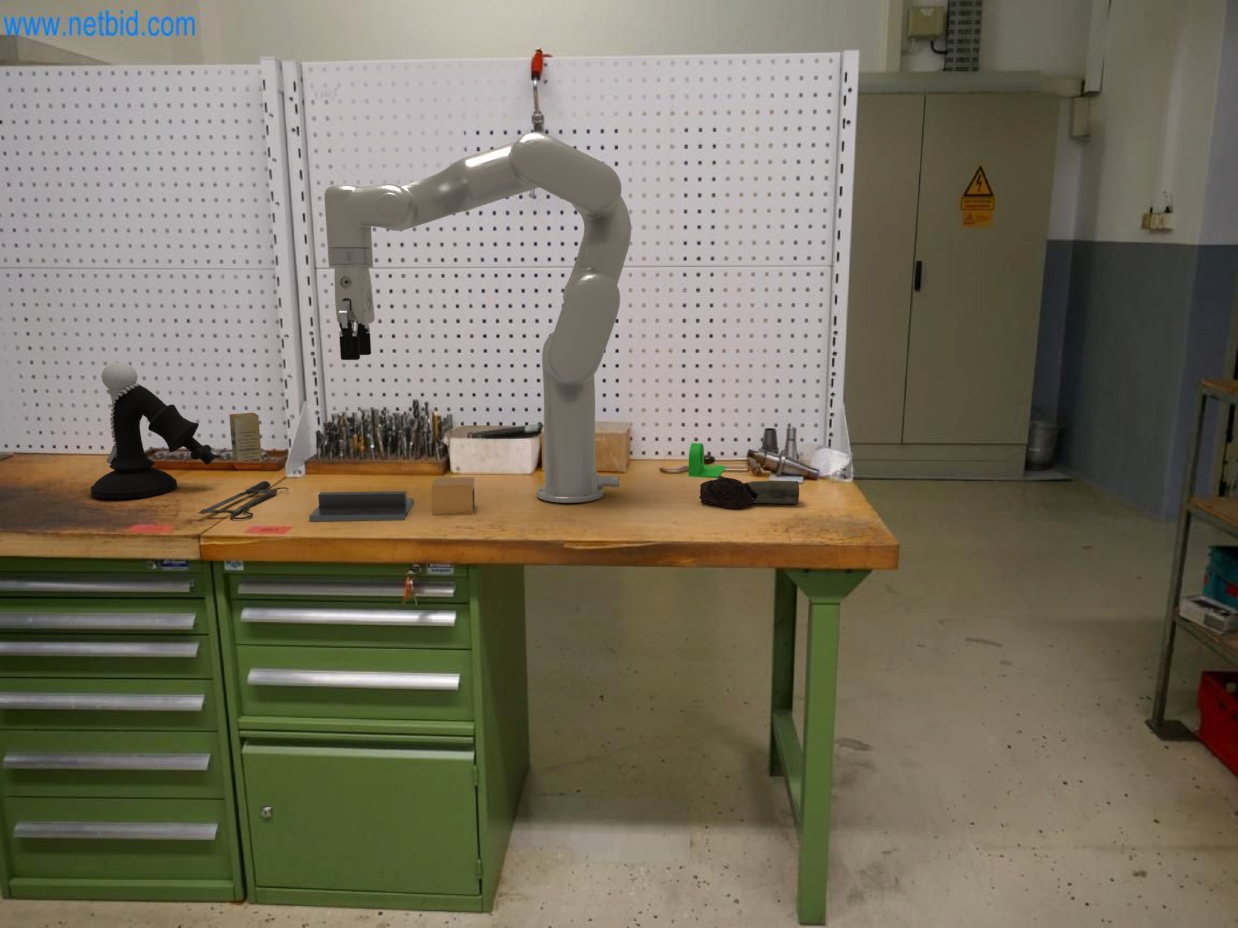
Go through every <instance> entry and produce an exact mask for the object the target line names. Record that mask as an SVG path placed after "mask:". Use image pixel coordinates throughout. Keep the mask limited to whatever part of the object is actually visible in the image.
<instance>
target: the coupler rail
mask: <svg viewBox="0 0 1238 928" xmlns="http://www.w3.org/2000/svg"><path fill="white" fill-rule="evenodd" d="M317 496H318V506H317V507H316V509H314V511H312V512H311V513H310V514H309V516H308V517H309V518H308V519H309V522H352V521H354V522H355V521H356V522H358V521H359V522H361V521H362V522H363V521H364V522H365V521H369V522H370V521H404V520H405V519H406V518H407V516H408V514H409V513H410V511H411V509H412V507H413V506H414V504H415V503H414V502H415V501H414V500H415V499H414V498H412V497H410V498H409V497H407V491H406V490H405V491H402V490H401V491H400V490H399V491H398V490H397V491H396V490H395V491H392V490H391V491H387V490H385V491H384V490H383V491H324V492H323V491H321V492H320V493H319V494H318V495H317Z"/></svg>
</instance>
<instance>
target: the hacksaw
mask: <svg viewBox="0 0 1238 928" xmlns="http://www.w3.org/2000/svg"><path fill="white" fill-rule="evenodd" d="M282 489H283V490H282ZM285 489H286V490H285ZM278 490H280V491H279V492H281V493H282V492H284V490H285V492H286V491H289V488H288V487H281V486H280V487H276V488H275V487H274V488H271V483H270V482H269V481H268V480H267V481H266V480H263V481H260V482H259V483H257V484H256V485H253V486H251V487H249V488H247V489H245V490H244V492H239V493H237V494H235V495H233V496H231V497H228V498H226V499H224V500H223V501H220V502H217V503H216V504H214V505H212V506H209V507H207V508H203V509H201V510H200V511H198V512H197V513H198V514H201V515H205V514H223V513H224V514H230V516H229V518H230V519H232V520H248V519H250V518H252V517H253V516H254V513H253V512H250V511H248V510H249V509H251V506H253V505H255V504H256V503H259V502H260V501H262V500H265V499H267V498H268V497H270V496H272V495H274V494H277V492H278ZM281 490H282V491H281ZM251 494H261V495H258V496H256V497H255V498H253V499H251V500H249V501H247V502H246V503H244V504H243V505H240V506H239V507H238V508H236V509H218V508H220V507H222V506H224V505H226V504H228V503H231V502H233V501H235V500H237V499H239V498H242V497H243V496H245V495H251ZM241 512H242V513H244V514H247V516H240V517H238V516H237V515H239V514H241ZM235 516H236V517H235Z"/></svg>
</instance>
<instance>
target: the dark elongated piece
mask: <svg viewBox="0 0 1238 928" xmlns="http://www.w3.org/2000/svg"><path fill="white" fill-rule="evenodd" d="M699 487H700V489H699V496H698V497H699V500H700V502H701V503H705V504H706V505H714V506H717V507H723V508H725V509H727V510H732V509H735V510H741V509H743V508H745V507H746V506H748V505H749V504H751V503H752V504H781V505H782V504H783V505H796V504H797V505H798V504H799V500H800V483H799V481H798V480H761V481H760V480H753V481H752V480H751V481H748V482H744V483H743V482H742V481H741V480H739V479H736V478H733V477H726V476H725V477H724V476H722V475H720V476H719V477H718V478H714V479H709V480H707V481H704V482H702V483H700V486H699Z"/></svg>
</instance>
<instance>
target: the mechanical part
mask: <svg viewBox="0 0 1238 928" xmlns="http://www.w3.org/2000/svg"><path fill="white" fill-rule="evenodd" d="M704 464H705V446H704V444H703V443H701V442H698V443H697V442H691V444H690V446H689V451H688V477H691V478H692V477H693V478H694V477H695V478H710V479H718V477H719V476H722V473H723V472H724V471H725V469H726V468H727V466H726V465H720V464H706V465H708V466H706V465H704Z"/></svg>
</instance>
